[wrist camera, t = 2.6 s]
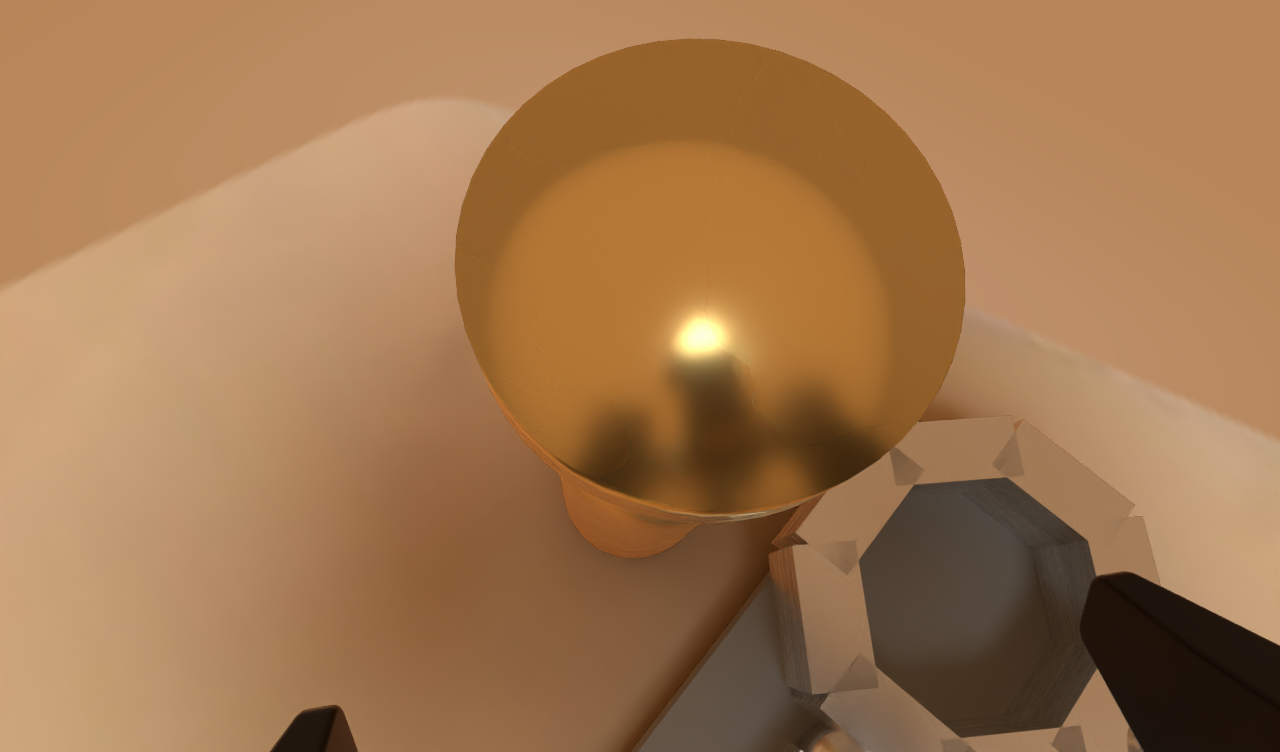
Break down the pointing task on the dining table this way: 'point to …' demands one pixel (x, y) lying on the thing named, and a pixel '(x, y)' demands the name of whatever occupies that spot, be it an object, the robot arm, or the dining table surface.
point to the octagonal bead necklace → (1023, 505)
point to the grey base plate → (881, 635)
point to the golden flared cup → (706, 285)
